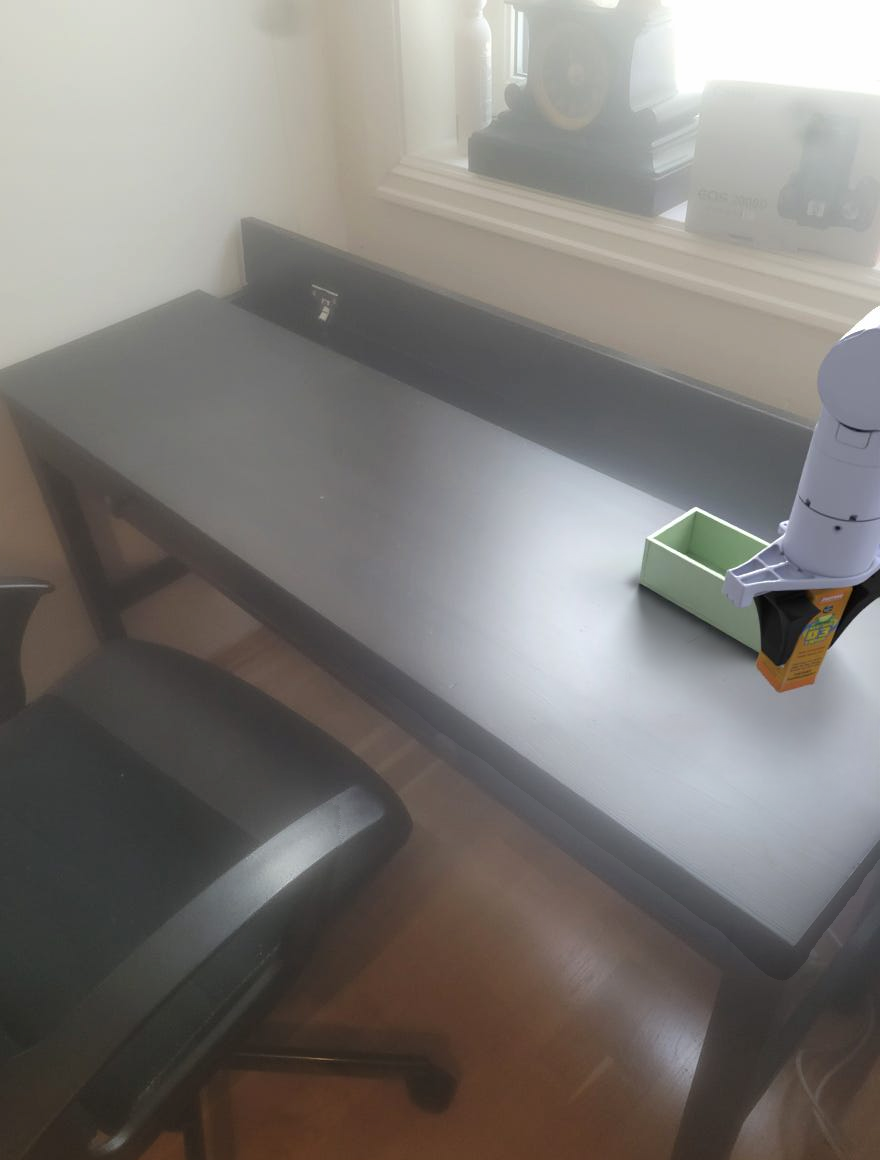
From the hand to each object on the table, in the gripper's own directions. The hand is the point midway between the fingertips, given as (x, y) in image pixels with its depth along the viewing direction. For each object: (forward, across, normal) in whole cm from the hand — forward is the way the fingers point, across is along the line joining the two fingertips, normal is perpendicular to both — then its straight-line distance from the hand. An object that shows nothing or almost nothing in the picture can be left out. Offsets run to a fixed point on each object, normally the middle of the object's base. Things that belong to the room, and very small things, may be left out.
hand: (795, 649), depth 67 cm
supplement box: (+3, 0, 0) cm, 3 cm away
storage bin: (+10, -7, -16) cm, 20 cm away
